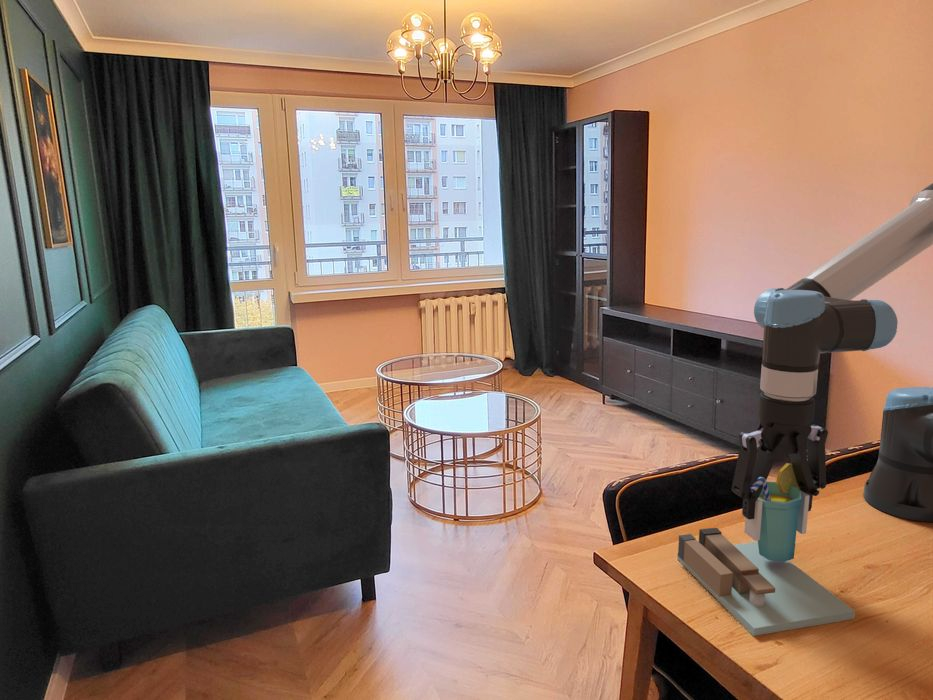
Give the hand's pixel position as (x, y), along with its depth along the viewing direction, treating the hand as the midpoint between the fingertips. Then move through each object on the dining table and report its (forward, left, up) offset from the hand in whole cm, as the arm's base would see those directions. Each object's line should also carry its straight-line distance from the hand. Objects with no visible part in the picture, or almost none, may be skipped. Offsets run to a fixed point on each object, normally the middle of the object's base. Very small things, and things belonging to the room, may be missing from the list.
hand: (775, 532), depth 99 cm
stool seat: (+5, +3, -7) cm, 9 cm away
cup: (0, 0, -4) cm, 4 cm away
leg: (+8, +2, -5) cm, 10 cm away
